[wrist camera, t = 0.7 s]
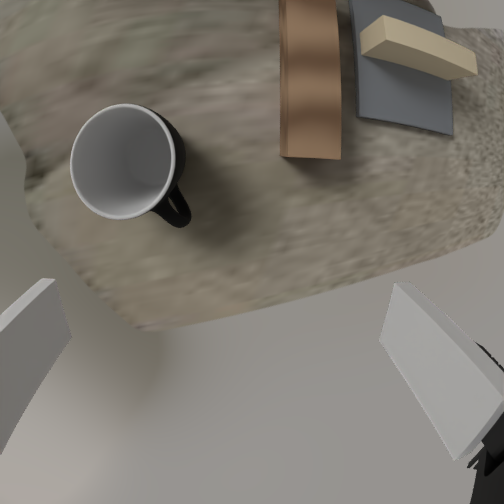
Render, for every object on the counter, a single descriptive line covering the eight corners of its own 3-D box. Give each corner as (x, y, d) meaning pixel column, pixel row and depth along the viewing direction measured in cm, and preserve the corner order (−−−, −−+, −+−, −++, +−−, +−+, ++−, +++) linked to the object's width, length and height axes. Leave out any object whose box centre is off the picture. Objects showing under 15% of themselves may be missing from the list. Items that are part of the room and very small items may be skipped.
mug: (101, 153, 28) (52, 158, 18) (163, 100, 26) (131, 79, 17) (163, 235, 31) (136, 272, 22) (228, 187, 30) (226, 204, 21)
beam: (278, -4, 23) (285, -25, 18) (320, 1, 23) (333, -18, 18) (279, 155, 30) (288, 156, 25) (324, 157, 30) (340, 159, 25)
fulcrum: (346, -12, 22) (368, -38, 15) (437, 18, 23) (466, 5, 16) (355, 116, 28) (385, 110, 22) (448, 135, 29) (483, 137, 22)
